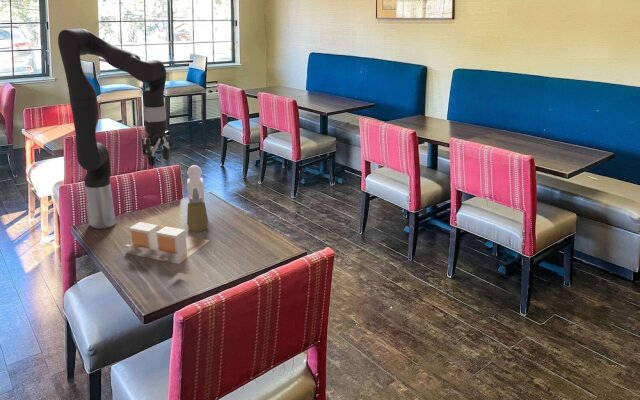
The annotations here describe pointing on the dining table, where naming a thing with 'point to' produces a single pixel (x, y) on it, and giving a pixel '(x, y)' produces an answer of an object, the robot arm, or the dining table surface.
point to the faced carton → (144, 235)
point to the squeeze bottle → (196, 213)
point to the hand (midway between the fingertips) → (159, 162)
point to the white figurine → (195, 181)
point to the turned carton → (172, 240)
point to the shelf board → (192, 246)
